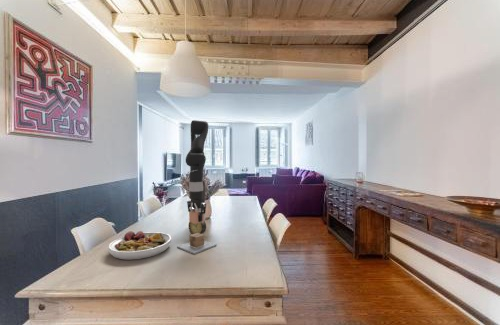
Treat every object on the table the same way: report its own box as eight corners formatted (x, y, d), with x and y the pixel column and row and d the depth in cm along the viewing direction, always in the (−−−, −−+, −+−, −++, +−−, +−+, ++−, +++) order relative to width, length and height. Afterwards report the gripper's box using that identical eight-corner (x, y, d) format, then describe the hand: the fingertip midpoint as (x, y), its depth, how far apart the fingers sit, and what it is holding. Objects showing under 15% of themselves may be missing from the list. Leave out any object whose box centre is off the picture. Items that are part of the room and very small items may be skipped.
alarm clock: (188, 236, 148) (187, 210, 148) (194, 234, 153) (193, 208, 153) (202, 239, 143) (201, 212, 143) (207, 236, 148) (207, 210, 148)
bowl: (182, 247, 132) (182, 232, 132) (129, 268, 107) (128, 250, 107) (150, 237, 149) (150, 224, 148) (97, 253, 124) (97, 238, 124)
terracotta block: (189, 222, 131) (189, 212, 131) (197, 219, 135) (197, 210, 135) (195, 223, 127) (195, 213, 127) (203, 221, 131) (203, 211, 131)
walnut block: (189, 245, 131) (189, 235, 131) (197, 242, 135) (197, 232, 135) (196, 247, 127) (196, 237, 127) (204, 244, 132) (204, 234, 132)
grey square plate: (177, 247, 130) (177, 245, 130) (199, 240, 142) (199, 238, 142) (194, 254, 121) (194, 252, 121) (216, 245, 132) (216, 244, 132)
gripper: (210, 190, 129) (210, 221, 129) (193, 188, 138) (194, 217, 139) (199, 191, 123) (199, 224, 124) (182, 189, 132) (183, 220, 133)
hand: (196, 220), depth 131 cm, fingers closed on terracotta block, 5 cm apart
